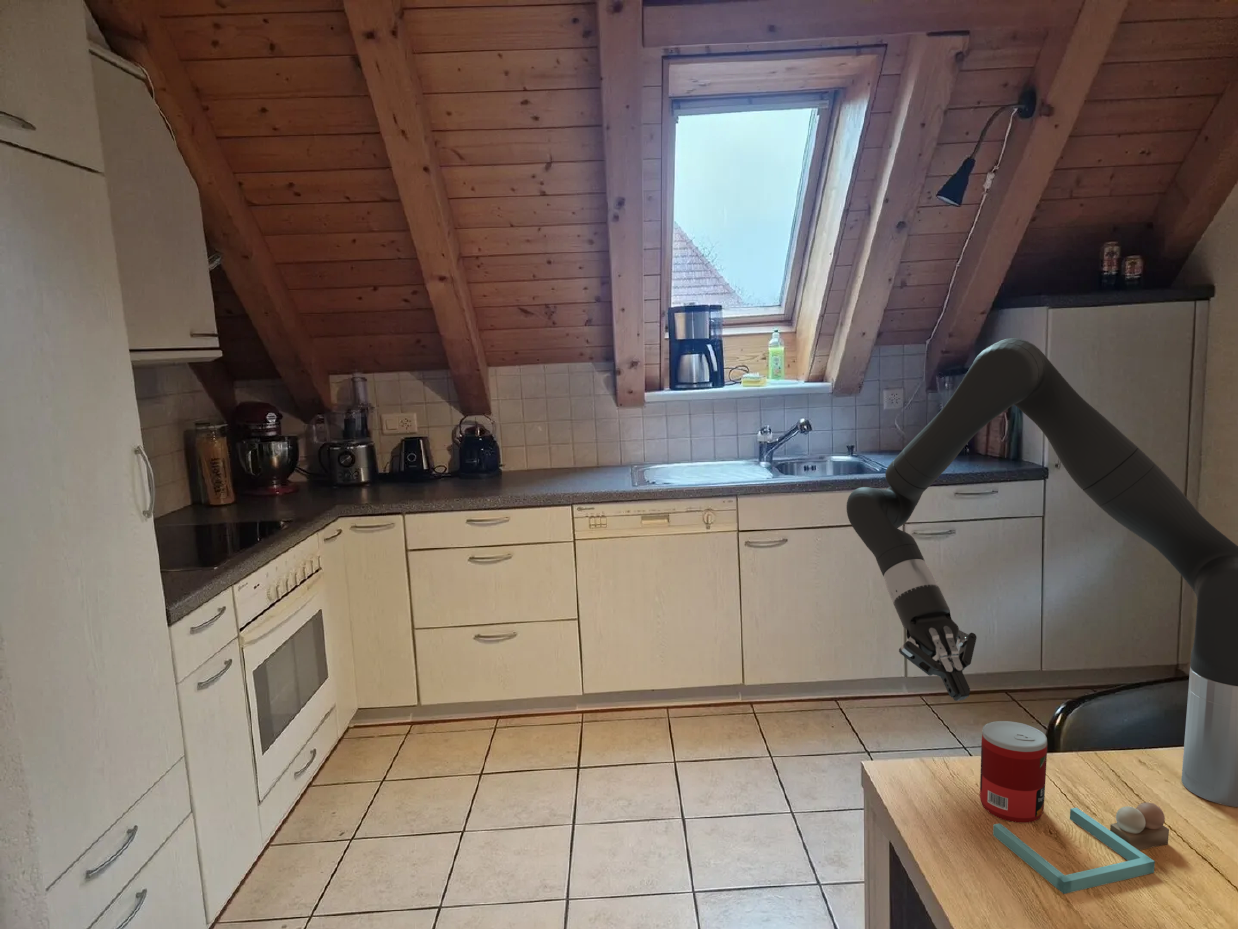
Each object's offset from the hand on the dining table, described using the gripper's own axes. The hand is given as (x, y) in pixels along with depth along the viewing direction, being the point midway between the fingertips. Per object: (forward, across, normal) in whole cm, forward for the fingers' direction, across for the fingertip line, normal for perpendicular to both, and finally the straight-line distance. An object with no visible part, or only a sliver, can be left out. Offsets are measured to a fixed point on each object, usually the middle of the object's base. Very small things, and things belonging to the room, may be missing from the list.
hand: (962, 698), depth 122 cm
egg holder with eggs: (+23, +10, -8) cm, 26 cm away
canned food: (+16, 0, 0) cm, 16 cm away
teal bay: (+23, 0, -7) cm, 24 cm away
